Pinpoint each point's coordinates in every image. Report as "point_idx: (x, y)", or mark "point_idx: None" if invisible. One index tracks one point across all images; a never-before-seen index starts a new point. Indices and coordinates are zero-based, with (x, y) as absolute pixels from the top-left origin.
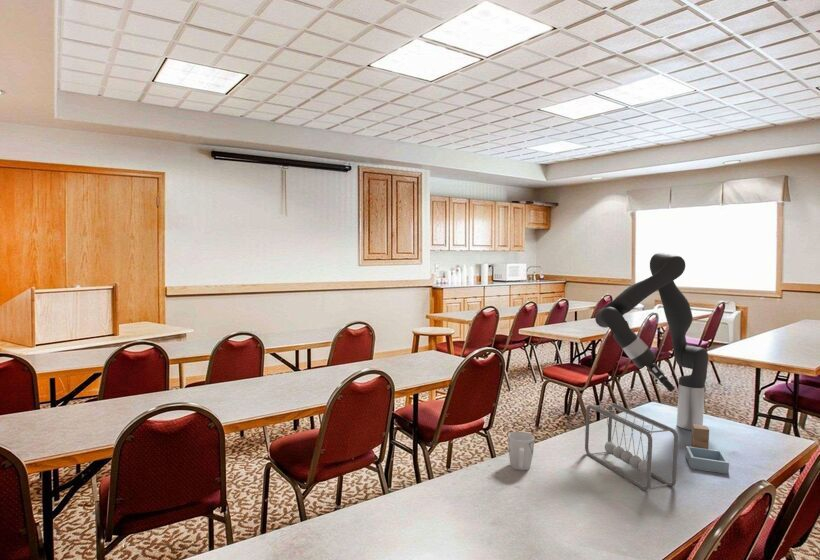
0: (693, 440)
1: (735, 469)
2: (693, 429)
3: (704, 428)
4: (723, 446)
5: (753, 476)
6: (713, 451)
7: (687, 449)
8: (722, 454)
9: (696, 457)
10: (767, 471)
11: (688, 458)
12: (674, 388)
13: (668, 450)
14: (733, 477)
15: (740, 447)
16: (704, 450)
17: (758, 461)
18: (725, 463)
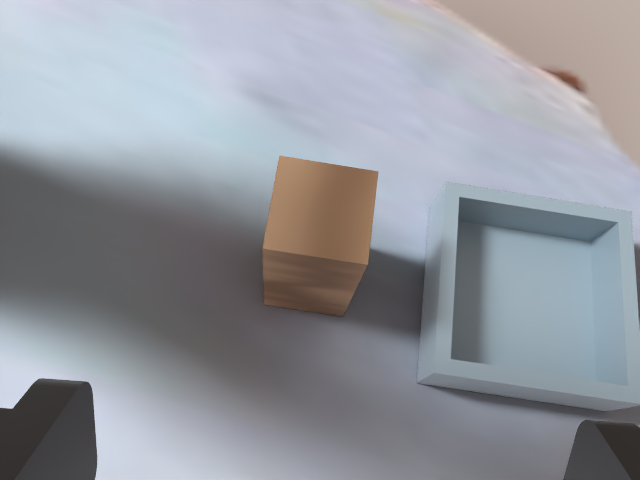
0: (334, 293)
1: (517, 179)
2: (321, 266)
3: (354, 193)
4: (182, 112)
5: (573, 134)
6: (455, 226)
7: (494, 382)
8: (504, 197)
9: (627, 370)
10: (483, 54)
11: (527, 395)
12: (628, 431)
13: (344, 469)
14: None
15: (179, 37)
16: (454, 273)
17: (364, 38)
18: (629, 229)
